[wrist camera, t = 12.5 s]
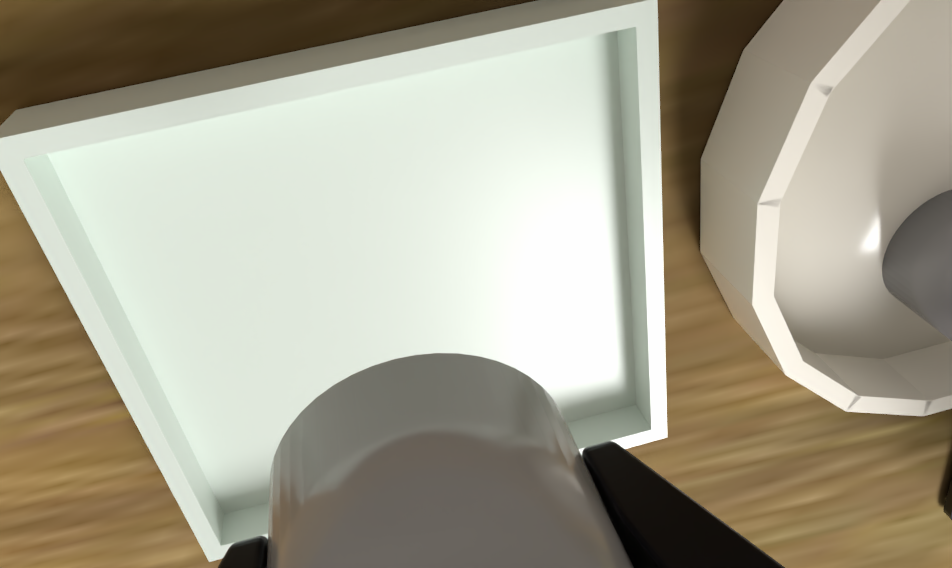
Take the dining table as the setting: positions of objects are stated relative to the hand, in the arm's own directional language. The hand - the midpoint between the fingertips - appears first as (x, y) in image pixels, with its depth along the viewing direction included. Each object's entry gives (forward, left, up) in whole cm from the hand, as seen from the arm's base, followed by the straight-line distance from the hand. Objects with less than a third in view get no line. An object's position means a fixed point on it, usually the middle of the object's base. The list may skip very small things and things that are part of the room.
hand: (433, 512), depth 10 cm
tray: (-3, 0, -11) cm, 12 cm away
